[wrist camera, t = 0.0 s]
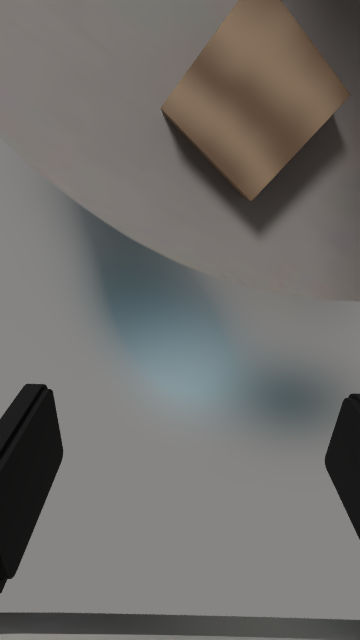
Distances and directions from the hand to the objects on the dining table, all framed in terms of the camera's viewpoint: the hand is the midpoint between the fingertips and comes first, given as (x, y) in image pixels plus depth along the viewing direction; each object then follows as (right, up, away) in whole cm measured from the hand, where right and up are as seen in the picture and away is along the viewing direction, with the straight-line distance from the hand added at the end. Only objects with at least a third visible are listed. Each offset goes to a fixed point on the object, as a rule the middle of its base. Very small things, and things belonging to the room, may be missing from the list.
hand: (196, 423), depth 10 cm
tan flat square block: (+6, +25, +23) cm, 35 cm away
